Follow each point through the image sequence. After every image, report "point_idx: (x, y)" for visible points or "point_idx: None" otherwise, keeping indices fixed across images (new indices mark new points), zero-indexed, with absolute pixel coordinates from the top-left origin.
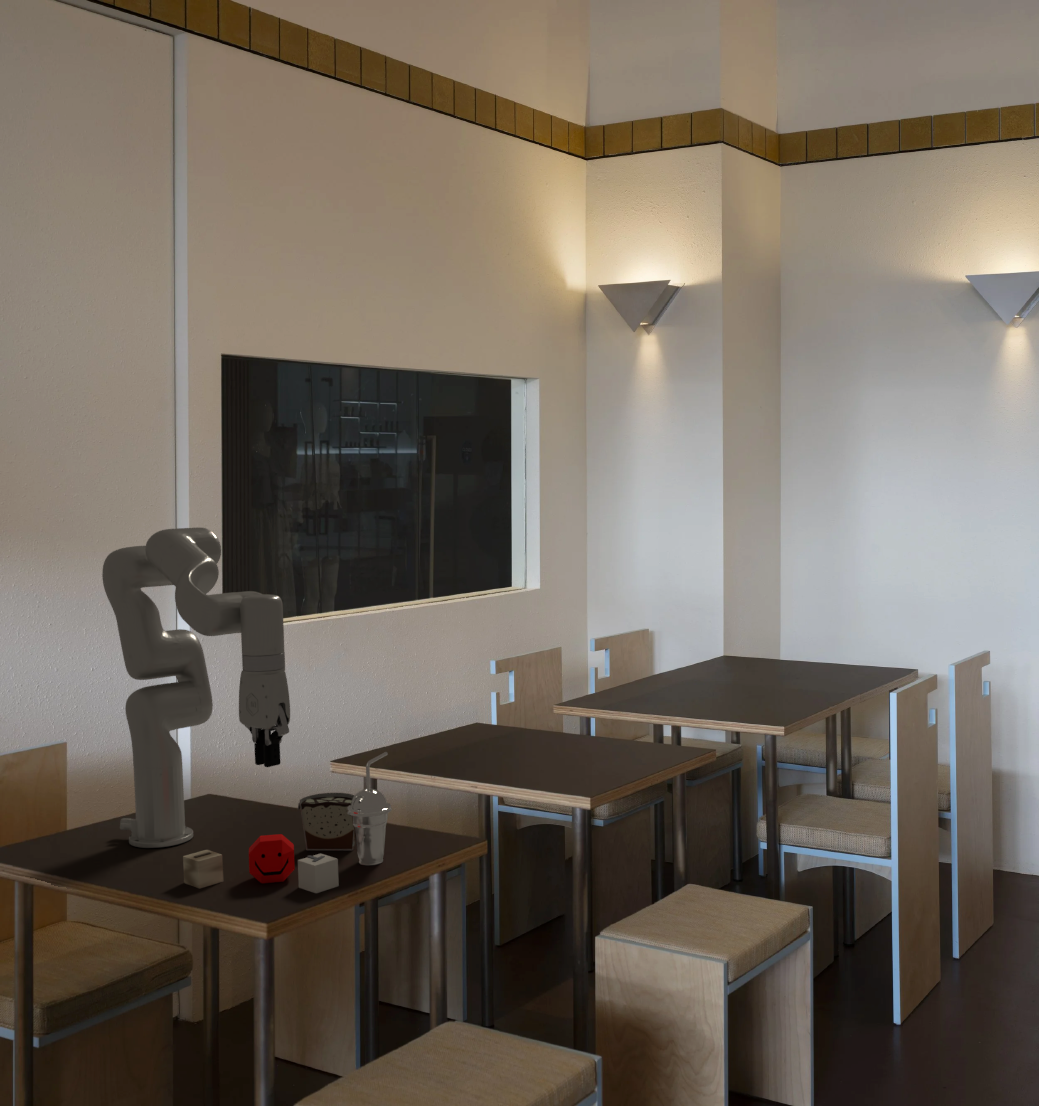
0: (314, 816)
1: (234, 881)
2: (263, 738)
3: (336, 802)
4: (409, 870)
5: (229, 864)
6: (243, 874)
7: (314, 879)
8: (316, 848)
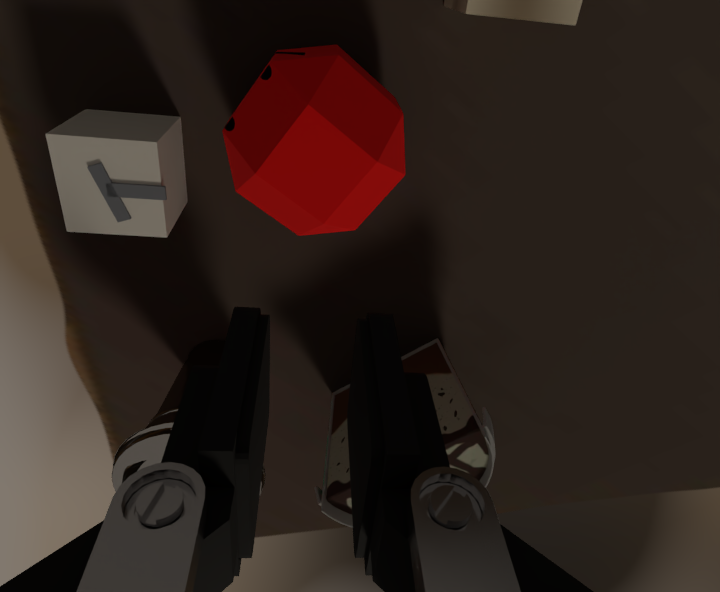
0: None
1: (408, 30)
2: (381, 561)
3: None
4: (84, 371)
5: (552, 142)
6: (437, 100)
7: (74, 121)
8: (415, 353)
